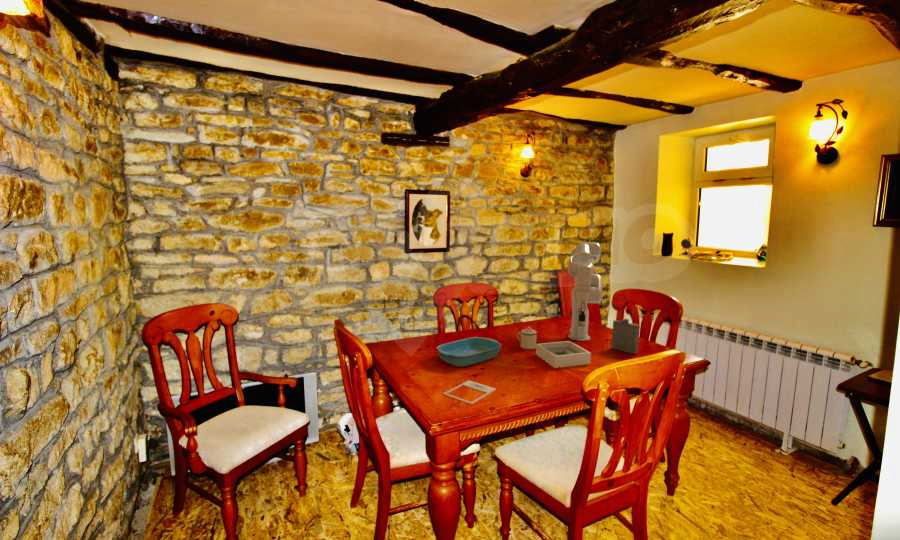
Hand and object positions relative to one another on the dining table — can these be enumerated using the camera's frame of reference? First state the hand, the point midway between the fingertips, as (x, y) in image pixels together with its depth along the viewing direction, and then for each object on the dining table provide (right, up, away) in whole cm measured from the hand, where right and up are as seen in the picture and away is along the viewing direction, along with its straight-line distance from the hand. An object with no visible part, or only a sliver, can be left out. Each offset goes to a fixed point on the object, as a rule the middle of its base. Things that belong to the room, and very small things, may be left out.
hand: (581, 319), depth 237 cm
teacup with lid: (-29, -16, +8) cm, 34 cm away
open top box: (-14, -19, -12) cm, 26 cm away
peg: (0, -3, +1) cm, 3 cm away
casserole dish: (-62, -19, -10) cm, 66 cm away
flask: (+24, -18, +2) cm, 30 cm away
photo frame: (-64, -26, -52) cm, 86 cm away
